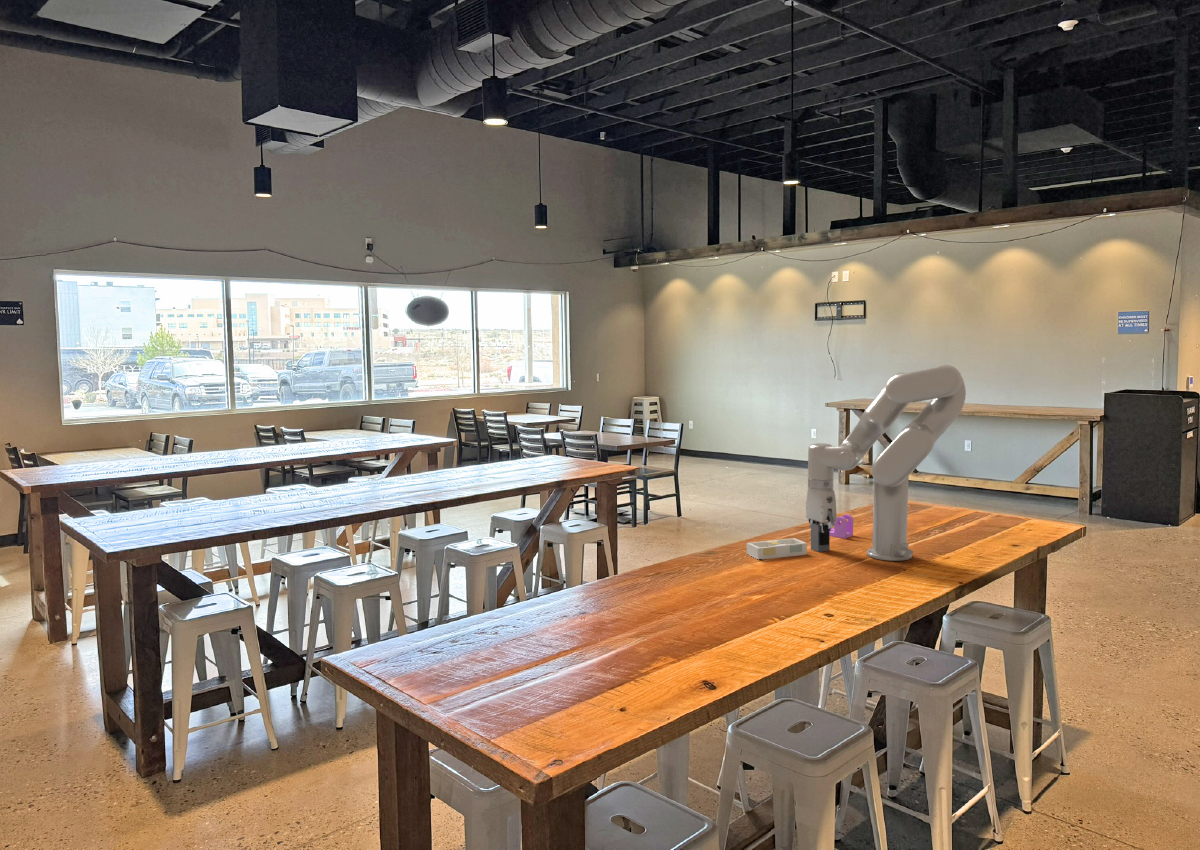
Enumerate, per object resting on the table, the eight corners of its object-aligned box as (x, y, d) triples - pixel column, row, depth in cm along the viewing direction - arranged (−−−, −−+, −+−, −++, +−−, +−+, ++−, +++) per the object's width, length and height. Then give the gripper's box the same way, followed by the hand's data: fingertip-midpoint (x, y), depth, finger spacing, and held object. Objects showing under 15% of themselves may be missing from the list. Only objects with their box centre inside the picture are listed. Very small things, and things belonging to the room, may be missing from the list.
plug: (829, 550, 248) (829, 524, 248) (818, 551, 247) (818, 526, 246) (822, 547, 252) (822, 522, 251) (810, 548, 251) (810, 523, 250)
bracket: (853, 535, 267) (853, 515, 267) (844, 539, 263) (845, 517, 263) (817, 529, 276) (817, 509, 276) (808, 532, 272) (809, 512, 272)
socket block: (807, 554, 244) (807, 542, 244) (758, 560, 239) (758, 547, 239) (794, 549, 251) (794, 537, 250) (746, 554, 246) (746, 542, 245)
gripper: (847, 487, 241) (846, 548, 243) (815, 479, 257) (815, 536, 259) (825, 489, 239) (824, 550, 240) (795, 480, 254) (794, 538, 256)
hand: (819, 542), depth 249 cm, fingers closed on plug, 3 cm apart
